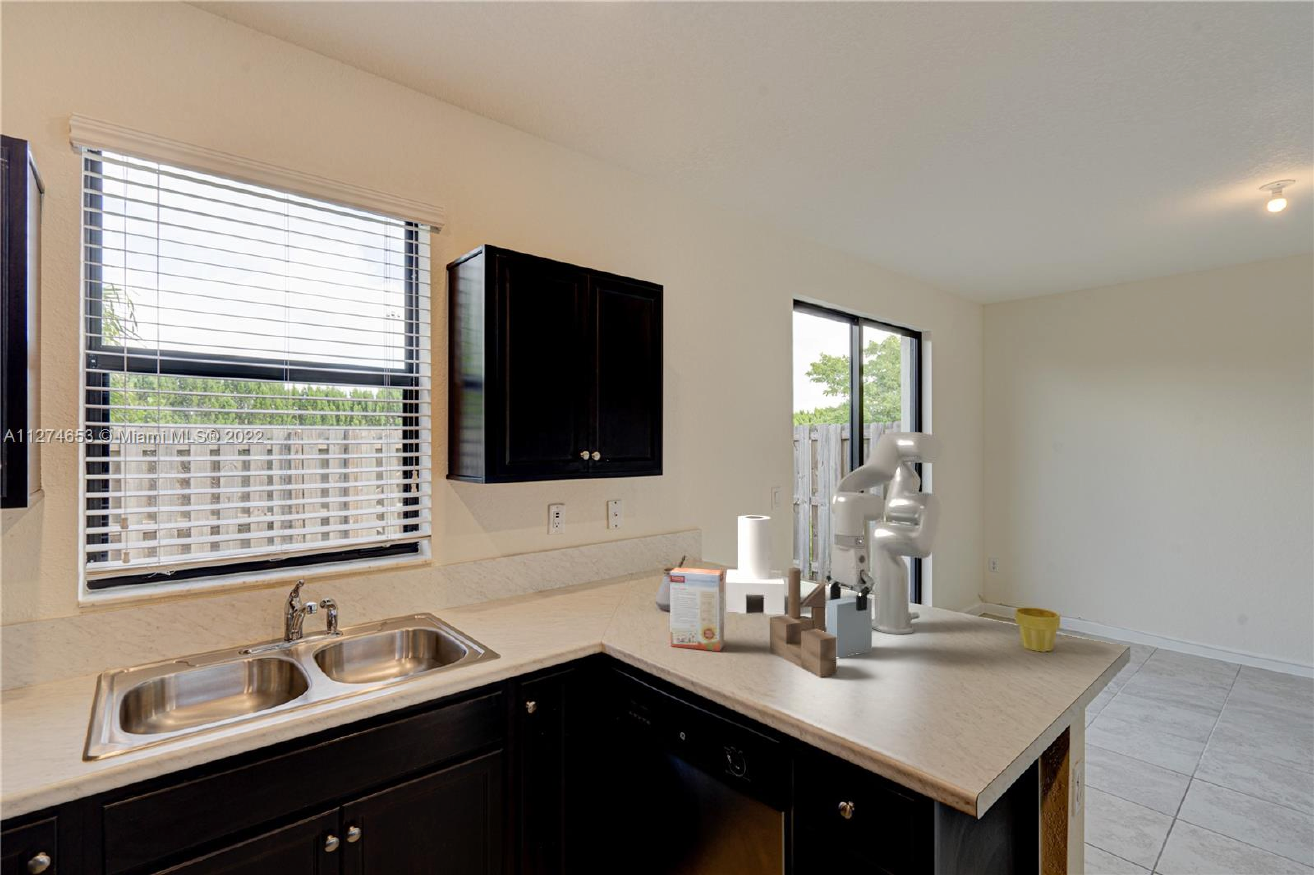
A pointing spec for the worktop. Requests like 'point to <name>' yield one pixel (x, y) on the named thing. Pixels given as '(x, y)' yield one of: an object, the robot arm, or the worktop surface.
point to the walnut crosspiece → (803, 646)
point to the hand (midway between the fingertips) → (848, 605)
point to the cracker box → (697, 608)
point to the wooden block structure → (806, 602)
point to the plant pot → (1037, 627)
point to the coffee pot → (666, 588)
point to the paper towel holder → (754, 568)
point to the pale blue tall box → (850, 626)
